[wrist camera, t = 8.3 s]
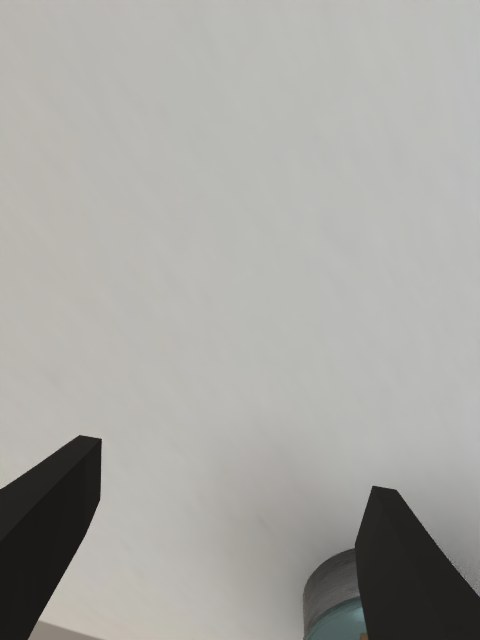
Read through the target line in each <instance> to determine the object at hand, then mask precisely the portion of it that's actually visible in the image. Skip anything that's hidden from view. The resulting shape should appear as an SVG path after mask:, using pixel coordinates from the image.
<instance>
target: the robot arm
mask: <svg viewBox="0 0 480 640" xmlns="http://www.w3.org/2000/svg"><path fill="white" fill-rule="evenodd" d="M101 446H102V439H99V438H93V437H88V436H82V435H79V436H77V437H76V438H75V439H73V440H72V441H70V442H69V443H67V444H66V445H64V446H63V447H62V448H60V449H59V450H57V451H56V452H55V453H53V454H52V455H50V456H49V457H48V458H46V459H45V460H43V461H42V462H41V463H39V464H38V465H36V466H35V467H33V468H32V469H30V470H29V471H27V472H26V473H25V474H23V475H22V476H20V477H19V478H17V479H16V480H14V481H13V482H11V483H10V484H8V485H7V486H5V487H4V488H2V489H0V640H28V638H29V636H30V634H31V632H32V630H33V628H34V626H35V625H36V623H37V621H38V619H39V617H40V615H41V614H42V612H43V610H44V608H45V606H46V605H47V603H48V601H49V599H50V598H51V596H52V594H53V592H54V590H55V589H56V587H57V585H58V583H59V582H60V580H61V578H62V576H63V575H64V573H65V571H66V569H67V567H68V566H69V564H70V562H71V560H72V558H73V557H74V555H75V553H76V551H77V549H78V548H79V546H80V544H81V542H82V540H83V539H84V537H85V535H86V532H87V530H88V528H89V525H90V523H91V521H92V518H93V516H94V513H95V511H96V508H97V506H98V504H99V501H100V491H101ZM355 554H356V568H357V580H358V588H359V594H360V599H361V604H362V609H363V615H364V620H365V625H366V630H367V635H368V640H480V597H479V596H478V595H477V593H476V592H475V591H474V590H473V589H472V588H471V586H470V585H469V584H468V583H467V582H466V581H465V579H464V578H463V577H462V576H461V575H460V573H459V572H458V571H457V570H456V569H455V567H454V566H453V565H452V564H451V562H450V561H449V560H448V559H447V557H446V556H445V555H444V553H443V552H442V551H441V550H440V548H439V547H438V546H437V544H436V543H435V542H434V540H433V539H432V538H431V536H430V535H429V534H428V532H427V531H426V530H425V528H424V527H423V526H422V524H421V523H420V522H419V520H418V519H417V517H416V516H415V515H414V513H413V512H412V511H411V509H410V508H409V506H408V505H407V504H406V502H405V501H404V499H403V498H402V497H401V495H400V494H399V493H398V491H397V490H394V489H389V488H383V487H377V486H372V490H371V493H370V496H369V499H368V503H367V506H366V509H365V513H364V516H363V519H362V523H361V526H360V529H359V532H358V536H357V539H356V542H355Z"/></svg>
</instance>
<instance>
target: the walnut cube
mask: <svg viewBox="0 0 480 640" xmlns="http://www.w3.org/2000/svg"><path fill="white" fill-rule="evenodd" d="M360 640H368V635H367V633H361V635H360Z"/></svg>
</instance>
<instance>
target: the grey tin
mask: <svg viewBox="0 0 480 640" xmlns="http://www.w3.org/2000/svg"><path fill="white" fill-rule="evenodd" d="M303 614H304V638H303V640H360V635H361V633H367V630H366V625H365V620H364V615H363V609H362V604H361V599H360V594H359V588H358V580H357V568H356V554H355V548H354V549H350V550H347V551H344V552H341V553H339V554H337V555H335V556H333V557H331V558H330V559H328V560H327V561H325V562H324V563H322V564H321V565H320V566H319V567H318V568H317V569H316V570H315V571H314V572H313V573H312V575H311V576H310V578H309V579H308V581H307V584H306V586H305V589H304V594H303Z"/></svg>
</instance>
